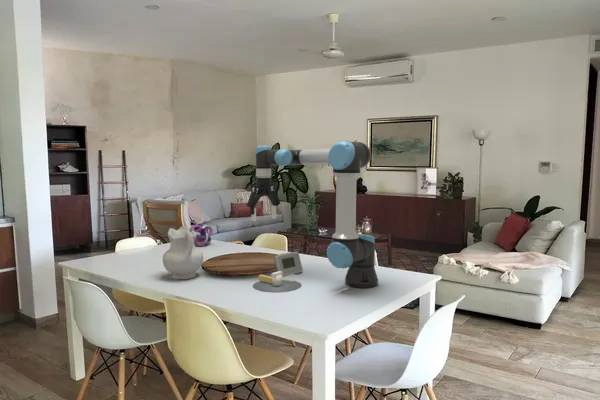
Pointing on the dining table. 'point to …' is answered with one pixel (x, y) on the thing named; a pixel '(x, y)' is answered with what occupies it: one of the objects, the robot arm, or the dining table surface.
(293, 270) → the digital clock
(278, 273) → the peg
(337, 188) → the robot arm
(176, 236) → the ceramic pitcher
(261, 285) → the grey flat disc
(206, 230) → the sculpture
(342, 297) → the dining table surface
